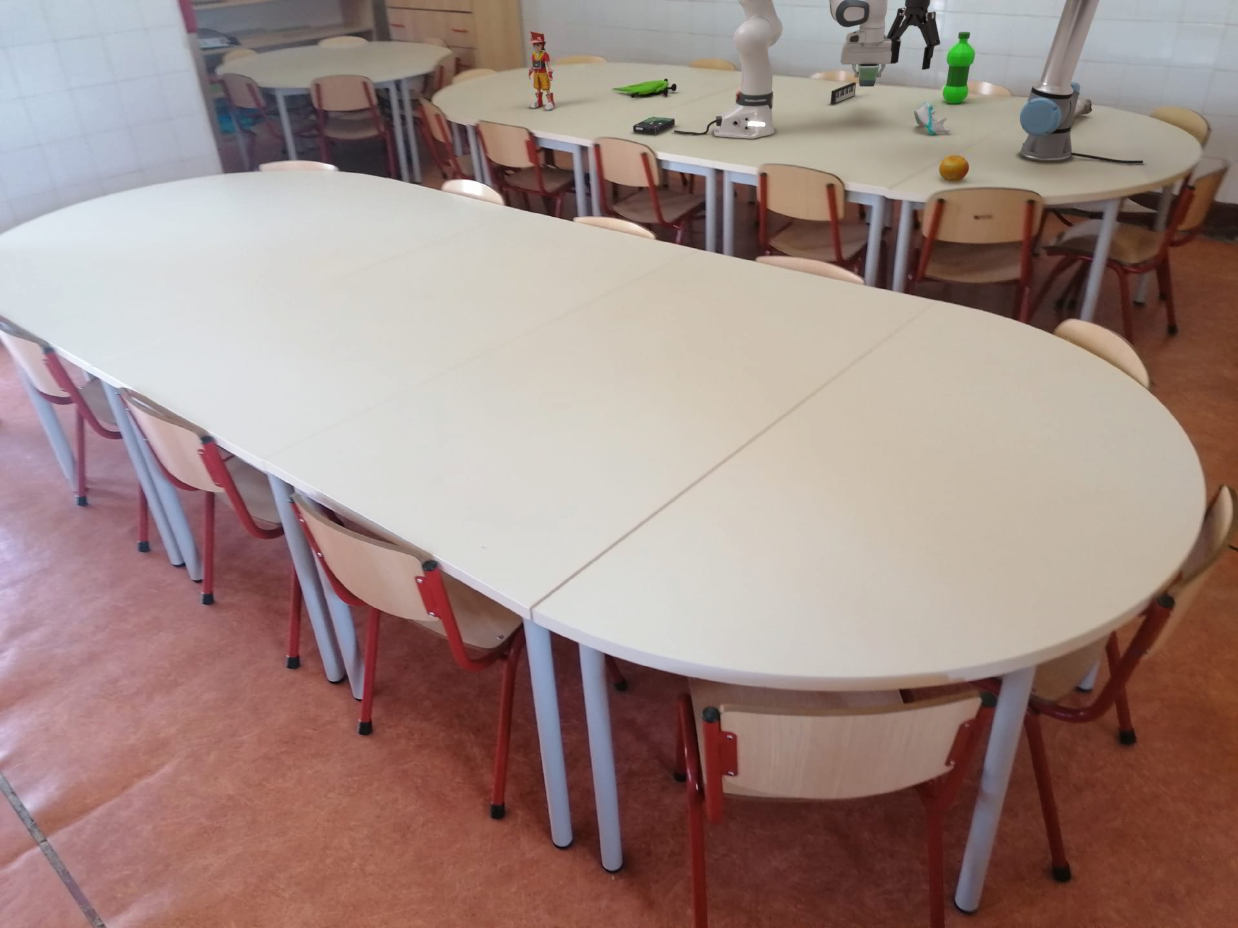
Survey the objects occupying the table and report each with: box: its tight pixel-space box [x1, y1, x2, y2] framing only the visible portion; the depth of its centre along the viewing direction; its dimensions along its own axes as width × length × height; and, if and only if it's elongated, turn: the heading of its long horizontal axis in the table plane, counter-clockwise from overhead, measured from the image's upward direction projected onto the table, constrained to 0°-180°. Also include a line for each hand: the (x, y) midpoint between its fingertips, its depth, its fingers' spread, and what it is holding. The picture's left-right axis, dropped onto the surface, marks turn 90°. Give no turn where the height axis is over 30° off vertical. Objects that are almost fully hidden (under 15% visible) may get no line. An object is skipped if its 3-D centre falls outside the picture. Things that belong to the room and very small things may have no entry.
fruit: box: [938, 154, 970, 182], centre depth 276 cm, size 8×8×8 cm
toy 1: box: [527, 31, 556, 111], centre depth 374 cm, size 12×9×30 cm
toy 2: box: [612, 78, 677, 99], centre depth 396 cm, size 28×5×30 cm
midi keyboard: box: [830, 81, 857, 105], centre depth 365 cm, size 18×1×5 cm, turn 138°
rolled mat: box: [1073, 97, 1093, 121], centre depth 320 cm, size 30×9×10 cm
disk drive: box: [632, 116, 676, 136], centre depth 344 cm, size 10×3×15 cm
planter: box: [857, 64, 880, 88], centre depth 333 cm, size 28×7×7 cm, turn 168°
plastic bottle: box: [942, 31, 976, 104], centre depth 348 cm, size 10×10×25 cm
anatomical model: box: [913, 101, 951, 135], centre depth 322 cm, size 15×10×10 cm
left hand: (867, 77), depth 325 cm, fingers closed on planter, 6 cm apart
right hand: (909, 66), depth 291 cm, fingers open, 13 cm apart
